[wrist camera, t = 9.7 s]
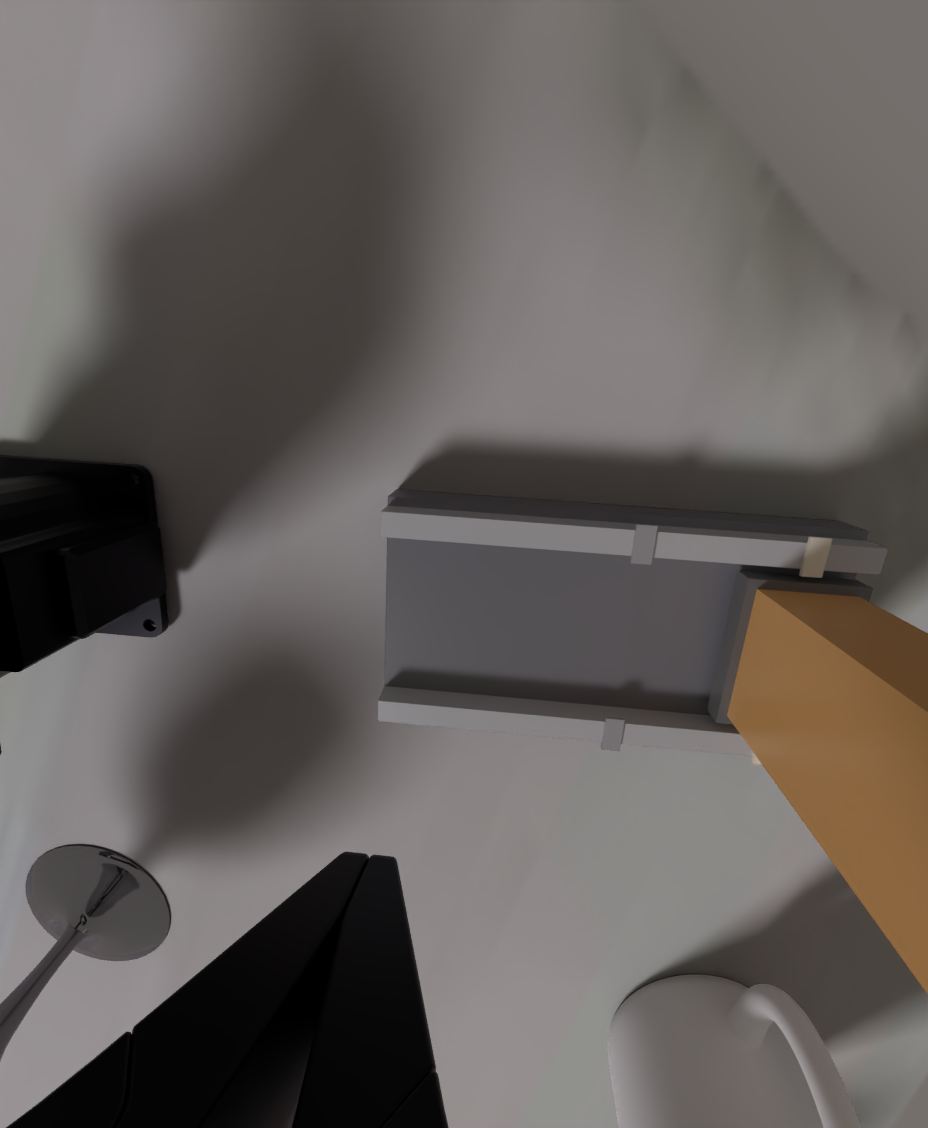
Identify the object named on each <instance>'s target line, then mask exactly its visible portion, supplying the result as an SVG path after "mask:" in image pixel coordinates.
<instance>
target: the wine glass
mask: <svg viewBox="0 0 928 1128" xmlns="http://www.w3.org/2000/svg"><path fill="white" fill-rule="evenodd" d="M26 896H27V900H28V904H29V906H30V908H31V911H32V913H33V915H34V916H35V918H36V919H37V920H38V922H39V923H40V924H41V926H42V927H43V928H44V929H45V930H46V931H47V932H48V933H49V934H50V935H51V936H53V937H54V938H55V939H56V940H57V942H56V943H55V945H54V946H53V947H52V948H51V950H50V951H49V952H48V953H47V955H46V956H45V957H44V958H43V959H42V960H41V961H40V963H39V964H38V965H37V966H36V967H35V968H34V969H33V971H32V972H31V973H30V974H29V975H28V976H27V977H26V978H25V979H24V980H23V981H22V982H21V983H20V984H19V985H18V986H17V987H16V989H15V990H14V991H13V992H12V993H11V994H10V995H9V996H8V997H7V998H6V999H5V1000H4V1001H3V1002H2V1003H1V1004H0V1061H1V1058H2V1056H3V1054H4V1051H5V1049H6V1047H7V1045H8V1043H9V1042H10V1040H11V1038H12V1036H13V1035H14V1033H15V1031H16V1030H17V1028H18V1027H19V1025H20V1023H21V1022H22V1020H23V1019H24V1017H25V1015H26V1014H27V1012H28V1011H29V1009H30V1008H31V1006H32V1005H33V1003H34V1002H35V1000H36V999H37V997H38V996H39V994H40V993H41V991H42V990H43V989H44V987H45V986H46V984H47V983H48V982H49V980H50V979H51V977H52V976H53V975H54V973H55V972H56V971H57V969H58V968H59V967H60V965H61V964H62V963H63V962H64V960H65V959H66V958H67V957H68V955H69V954H70V953H71V952H72V951H73V950H74V951H76V952H78V953H81V954H83V955H86V956H89V957H92V958H96V959H101V960H108V961H128V960H133V959H138V958H140V957H143V956H146V955H147V954H149V953H151V952H152V951H154V950H155V949H156V948H157V947H159V946H160V945H161V944H162V942H163V941H164V939H165V938H166V936H167V934H168V931H169V928H170V911H169V906H168V903H167V901H166V898H165V896H164V894H163V892H162V891H161V889H160V887H159V886H158V885H157V883H156V882H155V881H154V880H153V879H152V877H151V876H150V875H148V874H147V873H146V872H145V871H144V870H143V869H142V868H141V867H139V866H138V865H136V864H135V863H133V862H132V861H131V860H129V859H127V858H125V857H123V856H121V855H119V854H117V853H114V852H112V851H109V850H106V849H103V848H98V847H94V846H86V845H69V846H63V847H59V848H55V849H53V850H51V851H48V852H46V853H45V854H43V855H42V856H41V857H39V858H38V859H37V860H36V861H35V863H34V864H33V865H32V867H31V869H30V871H29V873H28V875H27V880H26Z"/></svg>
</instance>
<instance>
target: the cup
mask: <svg viewBox="0 0 928 1128" xmlns="http://www.w3.org/2000/svg"><path fill="white" fill-rule="evenodd" d="M608 1058H609V1067H610V1074H611V1081H612V1087H613V1094H614V1100H615V1106H616V1112H617V1119H618V1125H619V1128H861V1125H860V1122H859V1120H858V1117H857V1114H856V1112H855V1109H854V1107H853V1105H852V1102H851V1100H850V1097H849V1095H848V1093H847V1090H846V1088H845V1086H844V1083H843V1081H842V1079H841V1077H840V1075H839V1072H838V1070H837V1068H836V1066H835V1064H834V1062H833V1060H832V1058H831V1056H830V1054H829V1052H828V1050H827V1048H826V1046H825V1044H824V1042H823V1041H822V1039H821V1037H820V1035H819V1034H818V1032H817V1030H816V1029H815V1027H814V1025H813V1024H812V1022H811V1021H810V1019H809V1018H808V1016H807V1015H806V1014H805V1012H804V1011H803V1010H802V1008H801V1007H800V1006H799V1005H798V1004H797V1003H796V1002H795V1001H794V1000H793V999H792V998H791V997H790V996H789V995H788V994H787V993H786V992H784V991H783V990H781V989H779V988H777V987H775V986H772V985H770V984H757V985H753V986H752V987H750V988H748V987H746V986H744V985H742V984H740V983H737V982H735V981H732V980H729V979H725V978H722V977H717V976H710V975H696V974H695V975H680V976H673V977H668V978H664V979H661V980H658V981H655V982H653V983H650V984H648V985H646V986H644V987H642V988H640V989H639V990H637V991H636V992H634V993H633V994H632V995H630V996H629V997H628V998H627V999H626V1000H625V1001H624V1002H623V1003H622V1005H621V1006H620V1007H619V1009H618V1010H617V1012H616V1014H615V1016H614V1018H613V1020H612V1023H611V1026H610V1031H609V1036H608Z"/></svg>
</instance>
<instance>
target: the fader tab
mask: <svg viewBox="0 0 928 1128" xmlns="http://www.w3.org/2000/svg"><path fill="white" fill-rule="evenodd" d="M872 589H873V588H871V587H869V586H867V585H865V584H863V583H861V582H859V581H857V580H853V579H840V578H827V577H822V578H816V577H803V576H800V575H788V574H775V573H762V572H749V571H737V575H736V580H735V584H734V589H733V593H732V598H731V603H730V607H729V612H728V616H727V621H726V625H725V630H724V634H723V639H722V643H721V648H720V652H719V657H718V661H717V666H716V670H715V675H714V679H713V684H712V688H711V693H710V697H709V702H708V706H707V710H708V712H709V713H710V715H711V716H712V718H713V719H714V721H715V722H716V723H722V724H733V725H734V726H735V728H736V729H737V730H738V732H739V733H740V735H741V736H742V737H743V739H744V740H745V741H746V743H747V744H748V746H749V747H750V748H751V750H752V751H753V753H754V754H755V755H756V757H757V758H758V759H759V761H760V762H761V764H762V765H763V766H764V768H765V769H766V771H767V772H768V773H769V775H770V776H771V778H772V779H773V780H774V782H775V783H776V784H777V786H778V787H779V789H780V790H781V791H782V793H783V794H784V796H785V797H786V798H787V800H788V801H789V803H790V804H791V805H792V807H793V808H794V809H795V811H796V812H797V814H798V815H799V816H800V818H801V819H802V821H803V822H804V823H805V825H806V826H807V828H808V829H809V830H810V832H811V833H812V834H813V836H814V837H815V839H816V840H817V841H818V843H819V844H820V846H821V847H822V848H823V850H824V851H825V853H826V854H827V855H828V857H829V858H830V859H831V861H832V862H833V864H834V865H835V866H836V868H837V869H838V871H839V872H840V873H841V875H842V876H843V878H844V879H845V880H846V882H847V883H848V884H849V886H850V887H851V889H852V890H853V891H854V893H855V894H856V896H857V897H858V898H859V900H860V901H861V902H862V904H863V905H864V907H865V908H866V909H867V911H868V912H869V914H870V915H871V916H872V918H873V919H874V921H875V922H876V923H877V925H878V926H879V927H880V929H881V930H882V932H883V933H884V934H885V936H886V937H887V939H888V940H889V941H890V943H891V944H892V946H893V947H894V948H895V950H896V951H897V952H898V954H899V955H900V957H901V958H902V959H903V961H904V962H905V964H906V965H907V966H908V968H909V969H910V971H911V972H912V973H913V975H914V976H915V977H916V979H917V980H918V982H919V983H920V984H921V986H922V987H923V989H924V990H925V991H926V993H927V994H928V633H926V632H924V631H922V630H920V629H918V628H917V627H915V626H913V625H911V624H909V623H907V622H905V621H904V620H902V619H900V618H898V617H896V616H894V615H892V614H891V613H889V612H887V611H885V610H883V609H881V608H879V607H878V606H876V605H874V604H872V603H870V602H869V599H870V596H871V593H872Z"/></svg>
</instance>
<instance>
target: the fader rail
mask: <svg viewBox="0 0 928 1128" xmlns="http://www.w3.org/2000/svg"><path fill="white" fill-rule="evenodd" d="M867 535H868V531H867V530H864V529H861V528H858V527H855V526H852V525H849V524H847V523H844V522H841V521H833V520H819V519H805V518H791V517H777V516H763V515H749V514H735V513H721V512H707V511H693V510H679V509H665V508H651V507H637V506H623V505H609V504H595V503H581V502H567V501H553V500H539V499H525V498H511V497H497V496H483V495H469V494H455V493H441V492H427V491H413V490H399V489H397V490H395V491H394V492H393V493H392V494H390V495H389V496H388V506H387V507H386V508H384V509H383V510H382V511H381V537H387V579H386V635H385V686H384V689H383V691H382V693H381V696H380V698H379V700H378V721H382V722H393V723H403V724H414V725H425V726H435V727H446V728H457V729H467V730H478V731H488V732H499V733H510V734H520V735H531V736H542V737H552V738H563V739H573V740H584V741H595V742H602V744H601V749H603V750H613V751H620V745H621V744H627V745H637V746H648V747H658V748H669V749H680V750H690V751H701V752H712V753H722V754H733V755H744V756H752V759H751V762H752V764H761V762H760V761H759V759H758V758H757V757H756V755H755V754H754V753H753V751H752V750H751V748H750V747H749V746H748V744H747V743H746V741H745V740H744V739H743V737H742V736H741V735H740V733H739V732H738V730H737V729H736V728H735V726H734V725H733V724H722V723H716V722H715V721H714V719H713V718H712V716H711V715H710V713H709V712H708V710H707V706H708V702H709V697H710V693H711V688H712V684H713V679H714V675H715V670H716V666H717V661H718V657H719V652H720V648H721V643H722V639H723V634H724V630H725V625H726V621H727V616H728V612H729V607H730V603H731V598H732V593H733V589H734V584H735V580H736V575H737V571H749V572H762V573H775V574H788V575H800V576H803V577H816V578H822V577H827V578H840V579H853V580H854V579H855V576H856V573H863V574H876V575H880V574H881V571H882V568H883V564H884V561H885V558H886V554H887V551H888V549H887V548H885V547H882V546H879V545H877V544H874V543H871V542H868V541H866V538H867ZM761 765H762V764H761Z"/></svg>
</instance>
